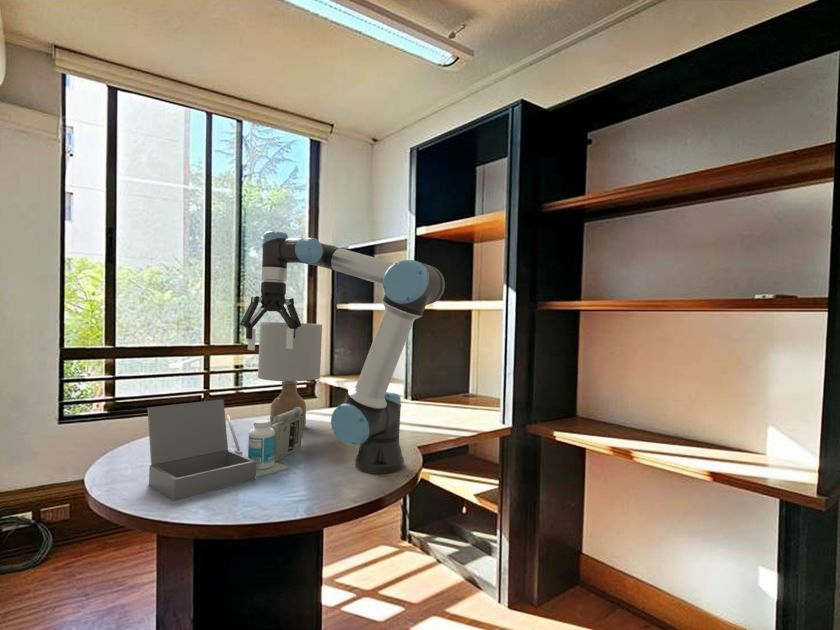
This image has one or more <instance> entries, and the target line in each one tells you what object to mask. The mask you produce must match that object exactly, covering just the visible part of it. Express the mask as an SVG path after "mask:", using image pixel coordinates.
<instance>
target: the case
mask: <svg viewBox="0 0 840 630" xmlns="http://www.w3.org/2000/svg"><path fill="white" fill-rule="evenodd" d="M226 419H227V422H228V425H229V428H230V431H231V434H232V437H233V438H232V439H233V441H234V444H235V448H236V450H235V451H233V450H231V449H229V446H228V445H229V444H228V443H229V442H228V432H227V422H226ZM147 420H148V421H147V422H148V435H149V436H148V437H149V438H148V439H149V454H150V465H149V474H148V485H149V486H151V487H152V488H153V489H155V490H156V491H158V492H160V493H162V494H163V495H165V496H166V497H167V498H169V499H171V500H172V501H177V500H182V499H185V498H188V497H192V496H197V495H200V494H203V493H207V492H211V491H216V490H218V489H223V488H226V487H230V486H234V485H239V484H242V483H246V482H251V481H254V480H256V479H257V477H256V461H255V460H253V459H250V458H248V456H245V455H243V450H241V448H240V445H239V441H238V439H237V435H236V432H235V429H234V425H233V423H232V420H231V416H230V414H227V415H226V413H225V400H224V399H223V398H222V399H213V400H205V401H195V402H187V403H178V404H169V405H160V406H159V405H158V406H151V407H147Z"/></svg>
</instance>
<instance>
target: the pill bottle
mask: <svg viewBox="0 0 840 630" xmlns="http://www.w3.org/2000/svg"><path fill="white" fill-rule="evenodd" d="M270 425H271V423H270V419H266V418H265V419H256V420H254V421H253V426H254V427H253V428H251V429H250V430H249V432H248V444H247V447H248V449H247V450H248V452H247V457H248V458H250V459H253V460H255V461H256V470H262V469H267V468H270V467H272V466H273V465H274V449H275V431H274V429H273V428H271V427H269V426H270Z"/></svg>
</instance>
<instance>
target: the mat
mask: <svg viewBox="0 0 840 630" xmlns="http://www.w3.org/2000/svg"><path fill="white" fill-rule="evenodd" d="M288 469H289V467H288V466H287V465H285V464H282V463H280V462H278V461H276V462H274V465H273V466H272V467H270V468H267V469H262V470H256V478H257V477H261V476H265V475H269V474H272V473H277V472H281V471H284V470H288Z"/></svg>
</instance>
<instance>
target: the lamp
mask: <svg viewBox="0 0 840 630" xmlns="http://www.w3.org/2000/svg"><path fill="white" fill-rule="evenodd" d="M300 323H301V326H300V327H298V328H297V329H296V330H295V339H293V349H286V337H287V329H290V328H289V326H288V325H287V323H286V322H284V321H283V322H274V321H271V322H269V321H268V322H267V321H263V322H262V321H261V322H259V340H258V341H259V342H258V343H259V344H258V363H257V364H258V366H257V378H258V379H260V380H264V381H274V382H281V385H282V386H281V391H280V393H279V395H278V396H277V397H275V398H274V399H273V400H272V402H271V404H270V409H269V410H270V411H269V413H270V414H269V420H270V423H271V422H273V419H274V417H275V416H278V415H280V414H283V413H286V412H288V411H291V410H292V409H294V408H296V407H301V408H302V410H303V413H302V414H301V415H300V416H303V425H302V430H303V431H304V429H305V428H306V425H307V404H306V401H305V400H304V399H303V397H302V396H300V395H299V393H298V390H297V389H298V388H297V385H298V382H308V381H314V380H315V381H316V380H319V379H321V366H322V365H321V363H322V362H321V361H322V340H323V339H322V338H323V324H322V323H320V324H319V323H309V322H308V323H306V322H305V323H304V322H300ZM272 424H275V423H272ZM272 424H271V425H272Z"/></svg>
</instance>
